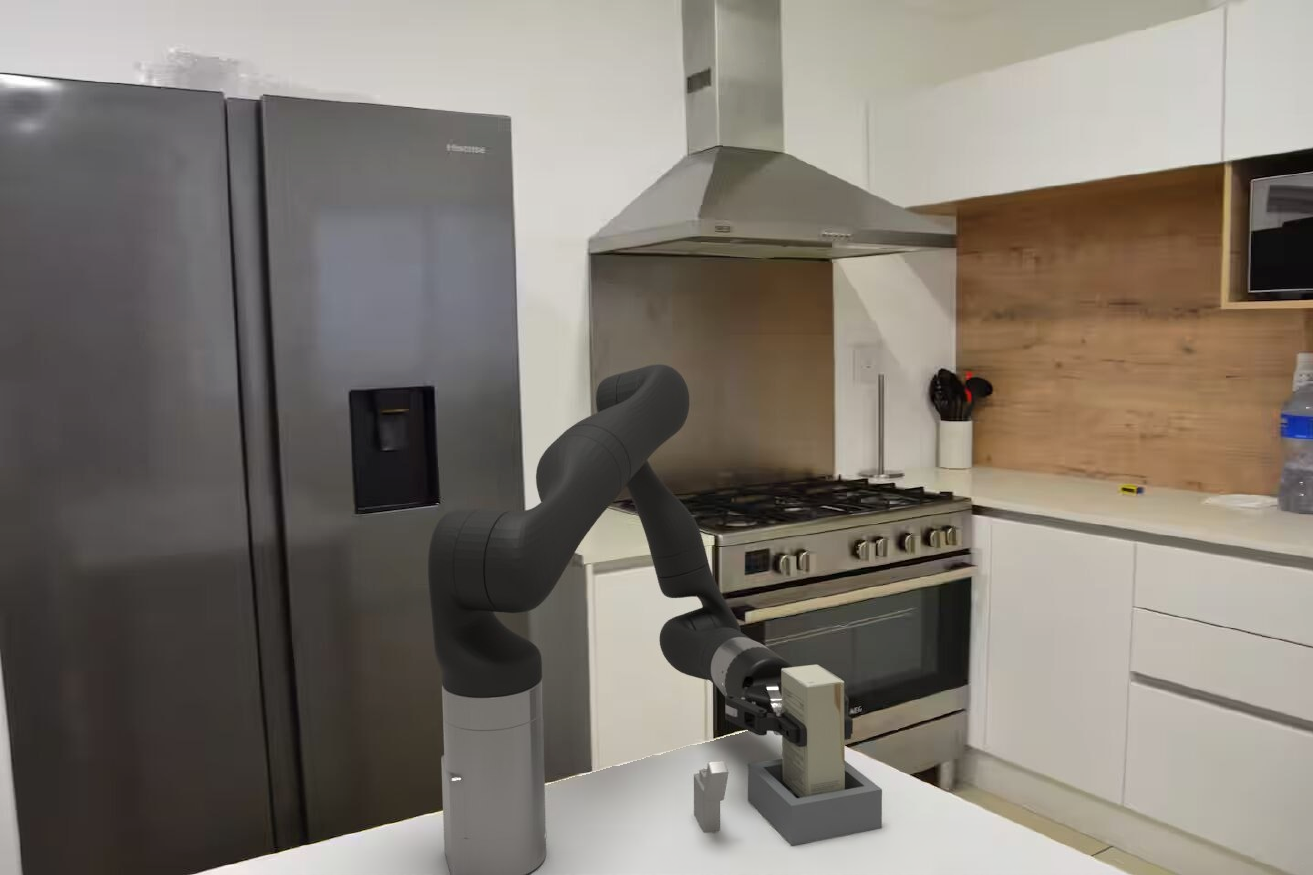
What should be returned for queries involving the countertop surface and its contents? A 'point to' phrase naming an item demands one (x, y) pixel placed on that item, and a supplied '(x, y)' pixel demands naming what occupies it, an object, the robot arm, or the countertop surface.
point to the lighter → (710, 795)
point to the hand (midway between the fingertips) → (826, 733)
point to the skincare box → (814, 730)
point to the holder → (814, 805)
